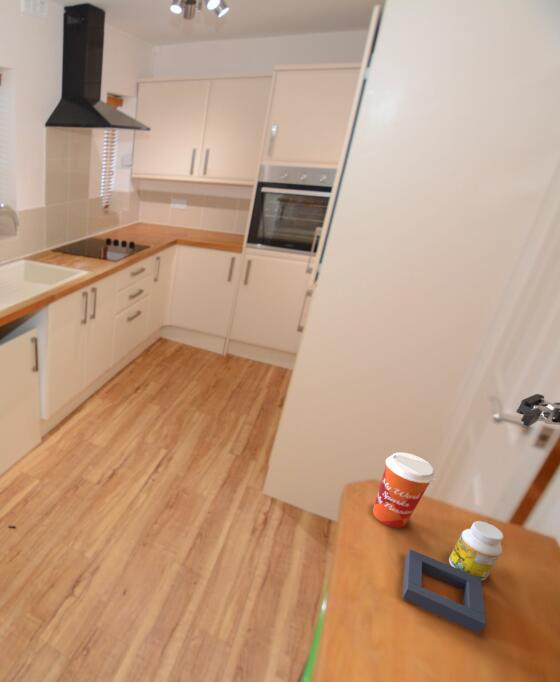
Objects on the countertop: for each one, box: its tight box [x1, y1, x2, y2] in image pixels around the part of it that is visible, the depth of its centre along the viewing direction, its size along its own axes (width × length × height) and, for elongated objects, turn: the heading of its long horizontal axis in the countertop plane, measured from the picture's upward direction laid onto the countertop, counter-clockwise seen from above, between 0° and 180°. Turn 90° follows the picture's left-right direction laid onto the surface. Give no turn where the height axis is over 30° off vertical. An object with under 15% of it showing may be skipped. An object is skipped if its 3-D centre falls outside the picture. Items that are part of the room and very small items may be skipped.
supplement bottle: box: [448, 520, 505, 581], centre depth 81 cm, size 5×5×10 cm
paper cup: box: [372, 451, 437, 529], centre depth 90 cm, size 8×8×14 cm
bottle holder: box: [402, 549, 487, 635], centre depth 78 cm, size 10×10×2 cm
